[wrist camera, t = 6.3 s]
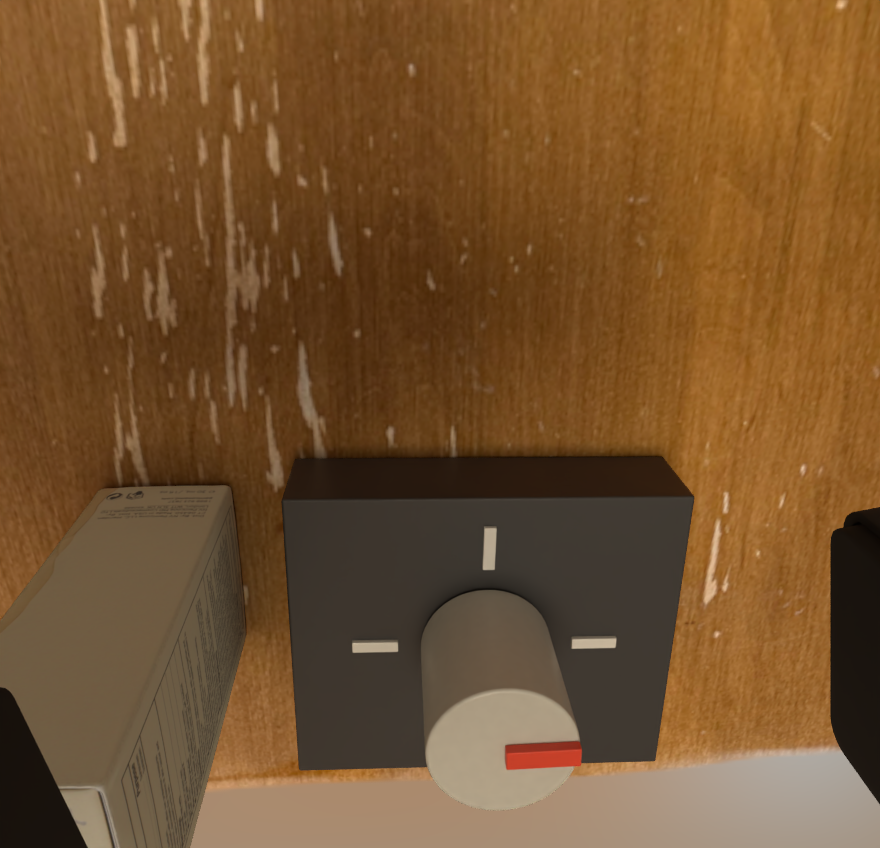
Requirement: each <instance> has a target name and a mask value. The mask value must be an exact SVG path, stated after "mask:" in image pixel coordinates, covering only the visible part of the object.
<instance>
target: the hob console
mask: <svg viewBox="0 0 880 848" xmlns="http://www.w3.org/2000/svg"><path fill="white" fill-rule="evenodd" d="M693 503H694V496H693V494H692V493H691V492H690V491H689V489H688V488H687V487H686V486H685V484H684V483H683V482H682V481H681V479H680V478H679V477H678V476H677V474H676V473H675V472H674V471H673V470H672V468H671V467H670V466H669V465H668V463H667V462H666V461H665V460H664V458H663V457H511V458H324V459H295V461H294V464H293V467H292V470H291V473H290V476H289V479H288V482H287V486H286V489H285V492H284V495H283V498H282V515H283V530H284V546H285V561H286V577H287V592H288V607H289V623H290V638H291V653H292V669H293V684H294V700H295V715H296V730H297V746H298V761H299V769H300V770H335V769H373V768H411V767H427V764H426V757H425V738H424V714H423V689H422V665H421V640H422V635H423V632H424V629H425V627H426V625H427V623H428V621H429V620H430V618H431V617H432V616H433V614H434V613H435V612H436V611H437V610H438V609H439V608H440V607H441V606H443V605H444V604H445V603H447V602H448V601H450V600H451V599H453V598H455V597H457V596H460V595H462V594H465V593H468V592H473V591H478V590H499V591H504V592H508V593H512V594H514V595H517V596H519V597H521V598H523V599H525V600H526V601H527V602H529V603H530V604H532V605H533V606H534V607H535V608H536V609H537V610H538V611H539V613H540V614H541V615H542V617H543V619H544V620H545V622H546V625H547V628H548V631H549V634H550V637H551V641H552V644H553V648H554V651H555V654H556V658H557V661H558V664H559V668H560V671H561V674H562V678H563V681H564V685H565V688H566V691H567V695H568V698H569V701H570V705H571V708H572V711H573V715H574V718H575V721H576V725H577V728H578V732H579V737H580V745H581V748H582V757H581V763H603V762H641V761H655V758H656V752H657V745H658V738H659V731H660V725H661V718H662V711H663V705H664V698H665V691H666V684H667V678H668V671H669V664H670V658H671V651H672V644H673V638H674V631H675V624H676V617H677V611H678V604H679V597H680V591H681V584H682V577H683V570H684V564H685V557H686V550H687V544H688V537H689V530H690V524H691V517H692V510H693Z"/></svg>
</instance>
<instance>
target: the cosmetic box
mask: <svg viewBox="0 0 880 848" xmlns="http://www.w3.org/2000/svg"><path fill="white" fill-rule="evenodd" d="M245 637H246V624H245V610H244V597H243V587H242V576H241V566H240V557H239V546H238V538H237V529H236V520H235V513H234V506H233V498H232V492H231V488H230V487H229V486H226V485H219V486H151V487H124V488H105V489H101V490H99V491H98V492H97V493H96V494H95V496H94V497H93V499H92V500H91V502H90V503H89V504H88V505H87V507H86V508H85V509H84V511H83V512H82V513H81V515H80V516H79V517H78V519H77V520H76V521H75V523H74V524H73V525H72V527H71V528H70V529H69V530H68V532H67V533H66V534H65V536H64V537H63V538H62V540H61V541H60V542H59V544H58V545H57V546H56V548H55V549H54V550H53V552H52V553H51V554H50V556H49V557H48V558H47V560H46V561H45V562H44V564H43V565H42V566H41V568H40V569H39V570H38V572H37V573H36V574H35V575H34V577H33V578H32V579H31V581H30V582H29V583H28V585H27V586H26V587H25V589H24V590H23V591H22V592H21V594H20V595H19V596H18V598H17V599H16V600H15V602H14V603H13V604H12V606H11V607H10V609H9V610H8V611H7V612H6V614H5V615H4V617H3V618H2V619H1V621H0V687H2V688H6V689H8V690H9V691H10V692H11V693H12V695H13V696H14V698H15V700H16V702H17V704H18V706H19V708H20V710H21V712H22V714H23V716H24V718H25V720H26V722H27V724H28V726H29V728H30V730H31V733H32V735H33V737H34V739H35V741H36V743H37V745H38V747H39V749H40V751H41V753H42V755H43V757H44V759H45V761H46V763H47V765H48V767H49V769H50V771H51V773H52V775H53V777H54V780H55V782H56V784H57V786H58V788H59V790H60V792H61V794H62V796H63V798H64V800H65V802H66V804H67V806H68V808H69V810H70V812H71V814H72V816H73V818H74V820H75V822H76V824H77V827H78V829H79V831H80V833H81V835H82V837H83V839H84V841H85V843H86V845H87V847H88V848H190V845H191V842H192V838H193V834H194V830H195V826H196V822H197V819H198V814H199V811H200V807H201V804H202V800H203V796H204V793H205V789H206V785H207V782H208V778H209V774H210V770H211V766H212V763H213V759H214V755H215V751H216V747H217V744H218V740H219V736H220V732H221V728H222V725H223V721H224V717H225V713H226V709H227V706H228V702H229V698H230V694H231V690H232V686H233V683H234V679H235V675H236V671H237V667H238V664H239V660H240V656H241V652H242V649H243V645H244V642H245Z"/></svg>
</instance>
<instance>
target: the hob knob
mask: <svg viewBox="0 0 880 848" xmlns="http://www.w3.org/2000/svg"><path fill="white" fill-rule="evenodd" d="M421 665H422V689H423V714H424V738H425V757H426V764H427V767H428V770H429V772H430V774H431V777H432V778H433V780H434V781H435V783H436V784H437V785H438V787H439V788H440V789H441V790H442V791H443V792H445V793H446V794H447V795H448V796H450V797H451V798H453V799H455V800H456V801H458V802H460V803H462V804H465V805H468V806H471V807H474V808H479V809H484V810H509V809H516V808H521V807H524V806H528V805H530V804H533V803H535V802H538V801H540V800H542V799H544V798H545V797H547V796H549V795H550V794H552V793H553V792H554V791H556V790H557V789H558V788H559V787H560V786H561V785H562V784H563V783H564V782H565V781H566V780H567V779H568V777H569V776H570V774H571V773H572V771H573V769H574V767H575V766H581V757H582V748H581V745H580V737H579V732H578V728H577V725H576V721H575V718H574V715H573V711H572V708H571V705H570V701H569V698H568V695H567V691H566V688H565V685H564V681H563V678H562V674H561V671H560V668H559V664H558V661H557V658H556V654H555V651H554V648H553V644H552V641H551V637H550V634H549V631H548V628H547V625H546V622H545V620H544V619H543V617H542V615H541V614H540V613H539V611H538V610H537V609H536V608H535V607H534V606H533V605H532V604H530V603H529V602H527V601H526V600H525V599H523V598H521V597H519V596H517V595H514V594H512V593H508V592H504V591H499V590H478V591H473V592H468V593H465V594H462V595H460V596H457V597H455V598H453V599H451V600H450V601H448V602H447V603H445V604H444V605H443V606H441V607H440V608H439V609H438V610H437V611H436V612H435V613H434V614H433V616H432V617H431V618H430V620H429V621H428V623H427V625H426V627H425V629H424V632H423V635H422V640H421Z"/></svg>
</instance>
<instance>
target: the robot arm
mask: <svg viewBox="0 0 880 848" xmlns="http://www.w3.org/2000/svg"><path fill="white" fill-rule="evenodd" d="M831 724H832V728H833V732H834V735H835V738H836V740H837V742H838V744H839V747H840V748H841V750H842V752H843V753H844V755H845V756H846V757H847V759H848V760H849V762H850V763H851V765H852V766H853V767H854V769H855V770H856V772H857V773H858V774H859V776H860V777H861V779H862V780H863V781H864V783H865V784H866V786H867V787H868V788H869V790H870V791H871V793H872V794H873V795H874V797H875V798H876V800H877V801H878V802H879V804H880V507H879V508H873V509H868V510H863V511H857V512H852V513H851V514H849V515H848V516H847V517H846V519H845V522H844V527H843V528H839V529H836V530H835V531H833V534H832V536H831ZM0 848H88V847H87V845H86V843H85V841H84V839H83V837H82V835H81V833H80V831H79V829H78V827H77V824H76V822H75V820H74V818H73V816H72V814H71V812H70V810H69V808H68V806H67V804H66V802H65V800H64V798H63V796H62V794H61V792H60V790H59V788H58V786H57V784H56V782H55V780H54V777H53V775H52V773H51V771H50V769H49V767H48V765H47V763H46V761H45V759H44V757H43V755H42V753H41V751H40V749H39V747H38V745H37V743H36V741H35V739H34V737H33V735H32V733H31V730H30V728H29V726H28V724H27V722H26V720H25V718H24V716H23V714H22V712H21V710H20V708H19V706H18V704H17V702H16V700H15V698H14V696H13V695H12V693H11V692H10V691H9V690H8V689H6V688H2V687H0Z"/></svg>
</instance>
